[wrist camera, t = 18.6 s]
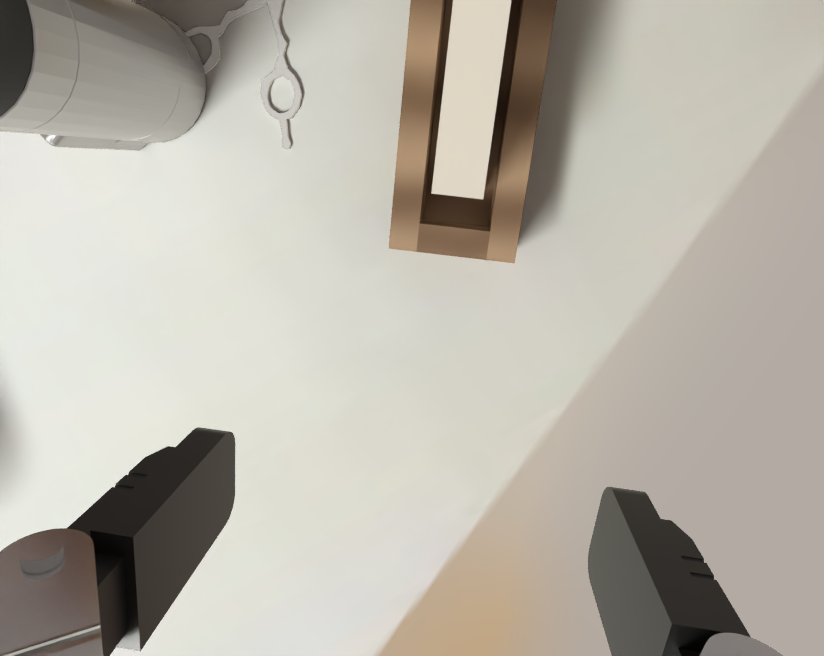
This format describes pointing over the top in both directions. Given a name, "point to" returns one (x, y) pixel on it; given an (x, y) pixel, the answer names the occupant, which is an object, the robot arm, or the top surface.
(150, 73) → the robot arm
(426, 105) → the walnut box
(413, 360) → the top surface
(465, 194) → the white rectangular block
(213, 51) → the scissors
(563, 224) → the top surface
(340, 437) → the top surface
